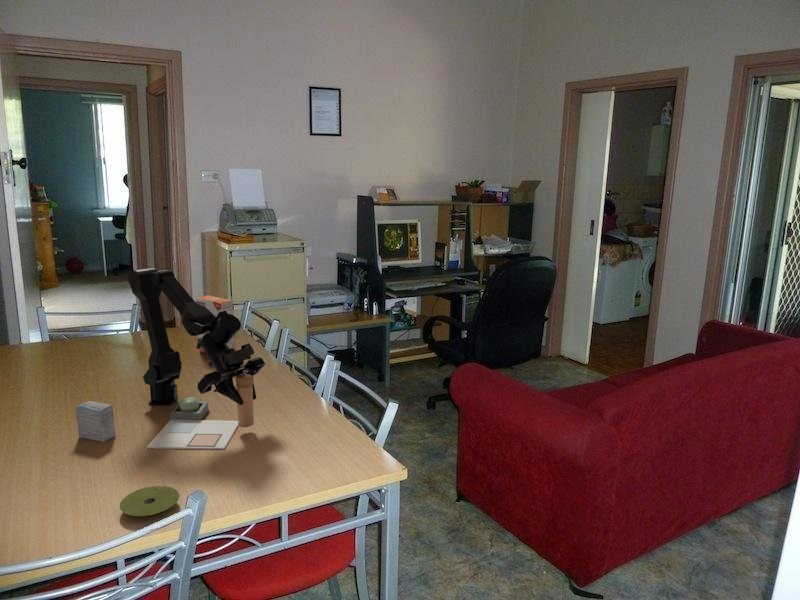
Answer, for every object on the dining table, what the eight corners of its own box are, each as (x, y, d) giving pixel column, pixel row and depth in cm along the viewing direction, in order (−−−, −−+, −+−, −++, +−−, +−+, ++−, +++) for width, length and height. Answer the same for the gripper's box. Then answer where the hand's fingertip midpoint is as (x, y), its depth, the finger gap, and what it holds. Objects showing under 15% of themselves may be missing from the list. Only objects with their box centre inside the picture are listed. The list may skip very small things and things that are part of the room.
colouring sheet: (147, 448, 147) (146, 446, 147) (170, 421, 163) (170, 419, 163) (224, 449, 148) (224, 447, 148) (240, 422, 163) (240, 420, 163)
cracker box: (198, 352, 222) (195, 297, 217) (211, 348, 227) (208, 294, 222) (222, 359, 214) (220, 302, 210) (236, 355, 219) (233, 299, 214)
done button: (177, 414, 164) (176, 404, 164) (183, 407, 169) (183, 397, 168) (195, 414, 164) (195, 404, 164) (201, 407, 169) (200, 397, 169)
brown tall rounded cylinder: (235, 427, 155) (233, 379, 152) (239, 420, 159) (238, 374, 156) (252, 427, 155) (250, 380, 152) (255, 420, 159) (254, 374, 156)
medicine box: (116, 435, 154) (113, 404, 152) (102, 443, 150) (99, 411, 148) (92, 431, 156) (89, 399, 154) (78, 438, 152) (74, 406, 150)
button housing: (170, 421, 163) (169, 412, 163) (180, 409, 171) (179, 401, 170) (199, 421, 163) (199, 413, 163) (208, 409, 171) (208, 401, 170)
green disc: (138, 491, 128) (137, 483, 128) (189, 495, 127) (188, 487, 127) (108, 522, 117) (108, 513, 117) (163, 526, 116) (163, 517, 116)
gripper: (202, 344, 146) (234, 397, 143) (259, 328, 162) (289, 375, 158) (183, 368, 152) (214, 419, 149) (240, 350, 168) (269, 396, 164)
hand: (248, 401), depth 155 cm, fingers closed on brown tall rounded cylinder, 4 cm apart
